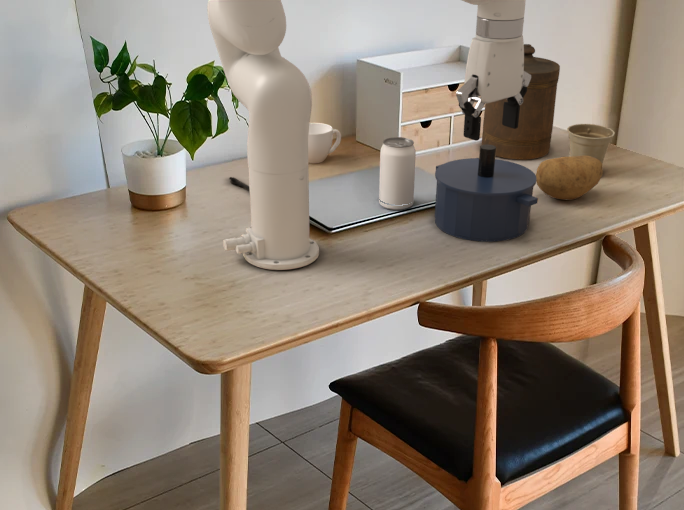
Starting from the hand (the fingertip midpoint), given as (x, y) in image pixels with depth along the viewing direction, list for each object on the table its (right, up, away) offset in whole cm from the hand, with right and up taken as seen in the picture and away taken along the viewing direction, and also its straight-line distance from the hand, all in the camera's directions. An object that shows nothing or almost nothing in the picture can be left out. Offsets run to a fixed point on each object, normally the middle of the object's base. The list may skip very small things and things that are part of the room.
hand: (490, 132), depth 157 cm
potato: (+18, -7, +20) cm, 28 cm away
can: (-16, -10, +16) cm, 24 cm away
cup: (-31, +4, +36) cm, 48 cm away
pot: (0, -14, +9) cm, 17 cm away
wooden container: (+12, +8, +44) cm, 46 cm away
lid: (0, -7, +4) cm, 8 cm away
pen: (-44, -6, +21) cm, 49 cm away
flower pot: (+24, 0, +32) cm, 40 cm away
